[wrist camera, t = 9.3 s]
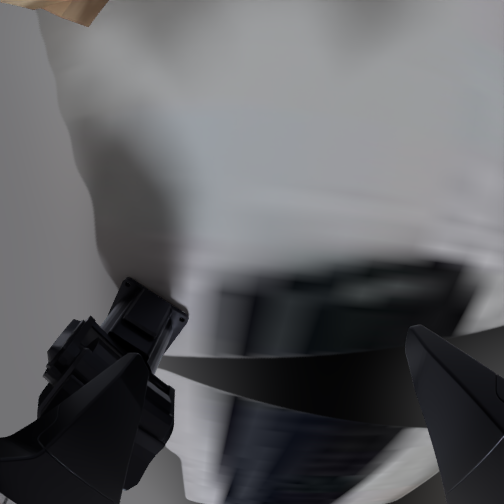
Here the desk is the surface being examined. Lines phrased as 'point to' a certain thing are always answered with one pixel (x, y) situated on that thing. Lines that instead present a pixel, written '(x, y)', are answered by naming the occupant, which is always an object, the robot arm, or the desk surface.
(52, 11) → the base block
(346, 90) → the desk surface
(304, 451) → the desk surface
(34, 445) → the robot arm
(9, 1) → the top block
